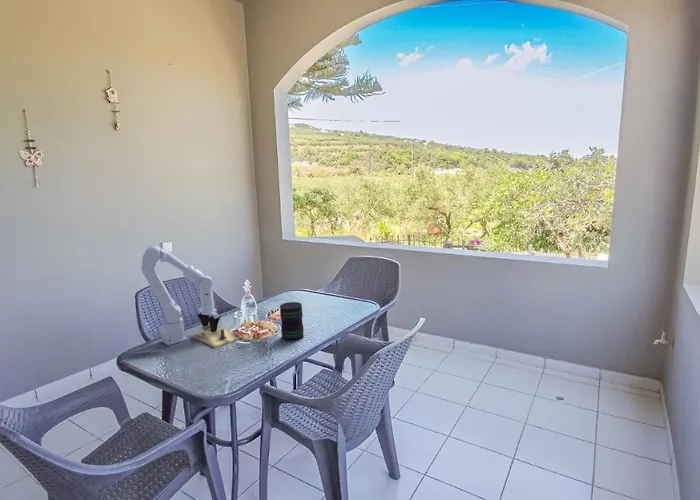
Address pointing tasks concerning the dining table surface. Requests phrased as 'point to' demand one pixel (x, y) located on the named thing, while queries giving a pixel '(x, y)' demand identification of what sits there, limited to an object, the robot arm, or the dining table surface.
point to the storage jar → (291, 321)
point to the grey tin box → (208, 330)
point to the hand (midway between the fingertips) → (210, 330)
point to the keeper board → (216, 338)
